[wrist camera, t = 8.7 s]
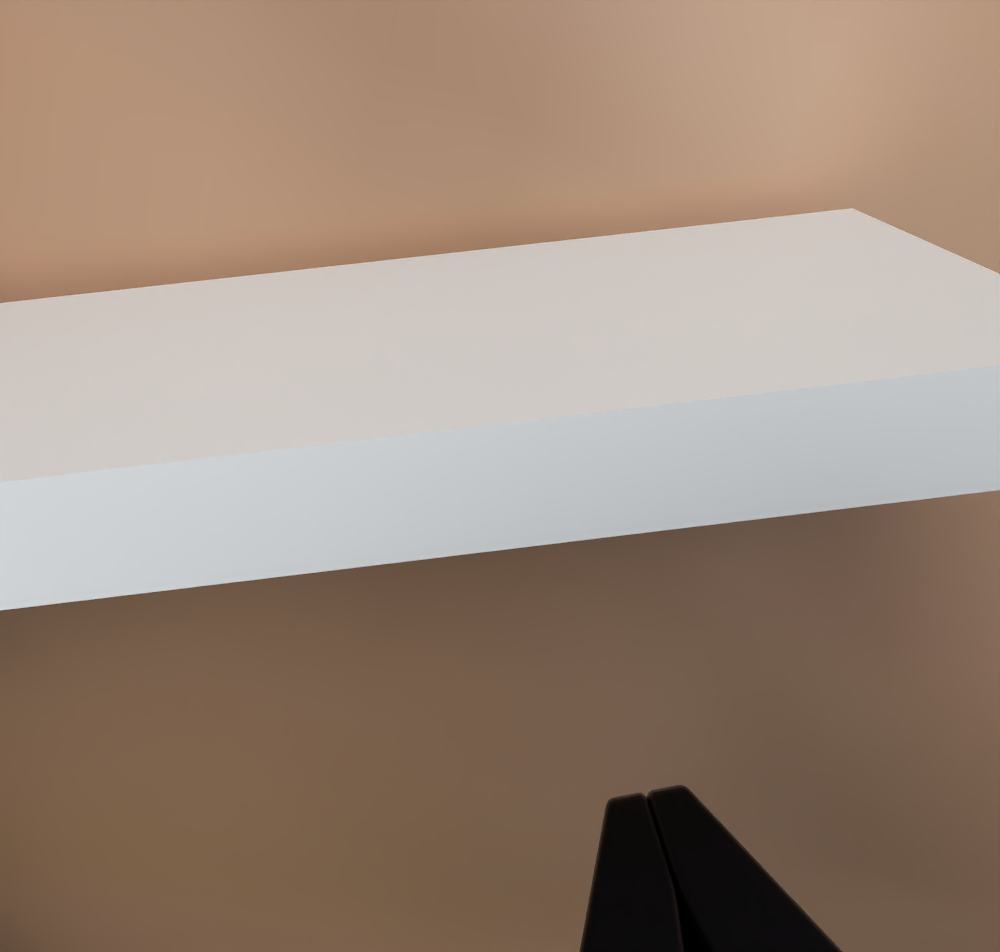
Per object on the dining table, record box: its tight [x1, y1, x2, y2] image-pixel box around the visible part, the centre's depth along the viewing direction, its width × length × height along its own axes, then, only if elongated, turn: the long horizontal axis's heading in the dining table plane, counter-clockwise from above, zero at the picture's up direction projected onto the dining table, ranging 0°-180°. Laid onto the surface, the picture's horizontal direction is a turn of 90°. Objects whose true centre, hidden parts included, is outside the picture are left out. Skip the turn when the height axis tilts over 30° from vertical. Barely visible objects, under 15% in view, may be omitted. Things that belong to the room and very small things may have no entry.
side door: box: [0, 208, 1000, 610], centre depth 8 cm, size 11×1×5 cm, turn 95°
